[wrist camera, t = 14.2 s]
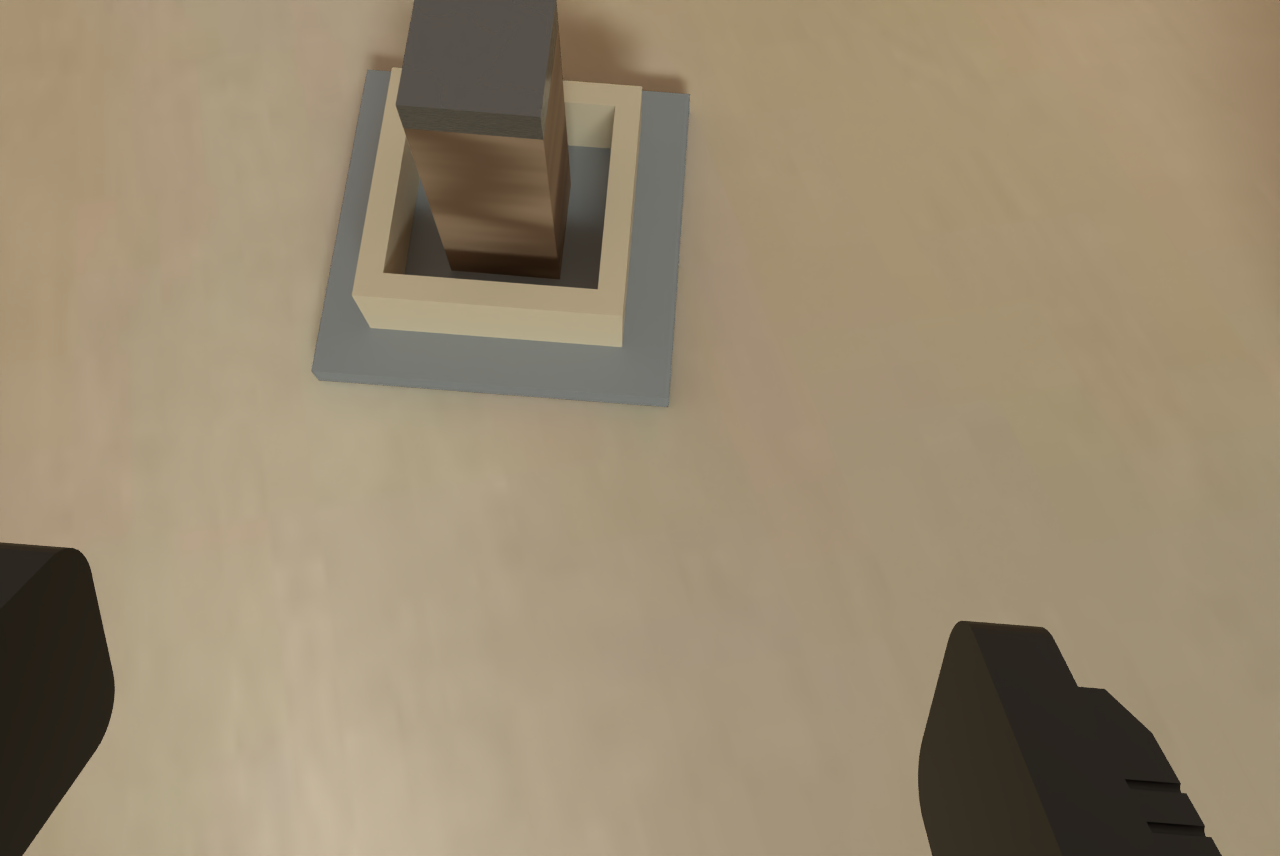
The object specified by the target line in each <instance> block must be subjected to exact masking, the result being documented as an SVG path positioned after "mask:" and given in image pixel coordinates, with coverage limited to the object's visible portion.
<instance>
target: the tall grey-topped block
mask: <svg viewBox="0 0 1280 856" xmlns="http://www.w3.org/2000/svg"><path fill="white" fill-rule="evenodd" d="M396 108H397V111H398V114H399V117H400V120H401V123H402V126H403V129H404V132H405V135H406V138H407V140H408V143H409V146H410V149H411V152H412V155H413V158H414V161H415V164H416V167H417V170H418V173H419V176H420V179H421V182H422V185H423V188H424V191H425V194H426V197H427V200H428V202H429V205H430V208H431V211H432V214H433V217H434V220H435V223H436V226H437V229H438V232H439V235H440V238H441V241H442V244H443V247H444V250H445V253H446V256H447V259H448V262H449V265H450V267H451V270H452V271H464V272H476V273H488V274H500V275H512V276H524V277H536V278H548V279H560V274H561V265H562V257H563V248H564V240H565V231H566V222H567V214H568V205H569V197H570V188H571V179H570V166H569V154H568V141H567V128H566V116H565V103H564V90H563V78H562V65H561V52H560V40H559V27H558V14H557V2H556V0H414V6H413V11H412V17H411V22H410V28H409V33H408V39H407V44H406V50H405V55H404V61H403V66H402V72H401V77H400V83H399V88H398V94H397V99H396Z"/></svg>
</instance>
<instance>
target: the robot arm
mask: <svg viewBox="0 0 1280 856" xmlns="http://www.w3.org/2000/svg"><path fill="white" fill-rule="evenodd" d="M114 692H115V686H114V676H113V671H112V666H111V661H110V657H109V652H108V647H107V643H106V638H105V634H104V629H103V624H102V620H101V615H100V610H99V606H98V601H97V596H96V592H95V587H94V582H93V578H92V573H91V569H90V566H89V563H88V561H87V559H86V558H85V556H84V555H83V554H82V553H81V552H80V551H79V550H76V549H74V548H64V547H51V546H39V545H26V544H13V543H1V542H0V856H22V855H23V854H24V852H25V851H26V850H27V848H28V847H29V845H30V844H31V842H32V841H33V840H34V838H35V837H36V835H37V834H38V832H39V831H40V830H41V828H42V827H43V825H44V824H45V822H46V821H47V820H48V818H49V817H50V815H51V814H52V812H53V811H54V810H55V808H56V807H57V805H58V804H59V802H60V801H61V799H62V798H63V797H64V795H65V794H66V792H67V791H68V789H69V788H70V787H71V785H72V784H73V782H74V781H75V779H76V778H77V777H78V775H79V774H80V772H81V771H82V769H83V768H84V767H85V765H86V764H87V762H88V761H89V759H90V758H91V757H92V755H93V754H94V752H95V751H96V749H97V748H98V746H99V744H100V743H101V741H102V739H103V737H104V735H105V732H106V730H107V727H108V724H109V721H110V718H111V713H112V709H113V703H114ZM1180 784H1181V783H1180V782H1179V780H1178V778H1177V776H1176V774H1175V773H1174V771H1173V769H1172V767H1171V766H1170V764H1169V762H1168V760H1167V759H1166V757H1165V755H1164V753H1163V752H1162V750H1161V748H1160V746H1159V745H1158V743H1157V741H1156V739H1155V738H1154V736H1153V734H1152V733H1151V732H1150V731H1149V730H1148V729H1147V728H1146V727H1145V726H1144V725H1143V724H1142V723H1141V722H1139V721H1138V720H1137V719H1136V718H1135V717H1134V716H1133V715H1132V714H1131V713H1130V712H1129V711H1128V710H1127V709H1126V708H1124V707H1123V706H1122V705H1121V704H1120V703H1119V702H1118V701H1117V700H1116V699H1115V698H1114V697H1113V696H1112V695H1110V694H1109V693H1108V692H1107V691H1106V690H1105V689H1098V688H1085V687H1078V686H1077V684H1076V682H1075V680H1074V678H1073V676H1072V674H1071V672H1070V670H1069V668H1068V666H1067V664H1066V662H1065V660H1064V658H1063V656H1062V654H1061V652H1060V650H1059V648H1058V646H1057V644H1056V642H1055V640H1054V639H1053V637H1052V635H1051V634H1050V633H1049V632H1048V631H1047V630H1046V629H1045V628H1043V627H1034V626H1021V625H1009V624H996V623H983V622H971V621H960V622H958V623H957V624H956V625H955V626H954V628H953V629H952V632H951V634H950V637H949V640H948V644H947V647H946V651H945V655H944V659H943V663H942V667H941V670H940V674H939V678H938V682H937V686H936V690H935V693H934V697H933V701H932V705H931V709H930V713H929V717H928V720H927V724H926V728H925V732H924V736H923V740H922V744H921V749H920V756H919V768H918V787H919V800H920V807H921V813H922V817H923V821H924V825H925V829H926V833H927V837H928V840H929V844H930V848H931V852H932V856H1222V855H1221V854H1220V852H1219V850H1218V848H1217V847H1216V845H1215V843H1214V841H1213V840H1212V838H1211V837H1206V836H1205V833H1204V827H1205V826H1204V824H1203V822H1202V820H1201V818H1200V817H1199V815H1198V813H1197V811H1196V810H1195V808H1194V806H1193V804H1192V803H1191V801H1190V799H1189V797H1188V796H1187V794H1185V793H1181V791H1180Z"/></svg>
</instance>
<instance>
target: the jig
mask: <svg viewBox="0 0 1280 856" xmlns="http://www.w3.org/2000/svg"><path fill="white" fill-rule="evenodd" d="M401 72H402V68H395V67H392V70H391V71H379V70H367V74H366V80H365V85H364V90H363V96H362V101H361V107H360V112H359V117H358V123H357V128H356V134H355V139H354V144H353V150H352V155H351V161H350V166H349V171H348V177H347V182H346V187H345V193H344V198H343V204H342V209H341V214H340V220H339V225H338V231H337V236H336V241H335V247H334V252H333V258H332V263H331V268H330V274H329V279H328V285H327V290H326V295H325V301H324V306H323V312H322V317H321V322H320V328H319V333H318V339H317V344H316V349H315V355H314V360H313V365H312V372H313V374H314V375H315V376H316V377H317V379H318V380H324V381H337V382H350V383H363V384H376V385H389V386H402V387H415V388H428V389H441V390H454V391H467V392H480V393H493V394H506V395H519V396H532V397H545V398H558V399H571V400H584V401H597V402H610V403H623V404H636V405H649V406H662V407H668V403H669V394H670V379H671V365H672V350H673V336H674V321H675V307H676V292H677V277H678V263H679V248H680V234H681V219H682V205H683V190H684V176H685V161H686V146H687V132H688V117H689V103H690V94H680V93H667V92H654V91H642V86H630V85H617V84H604V83H591V82H578V81H565V80H563V90H564V103H565V116H566V128H567V141H568V154H569V166H570V179H571V188H570V197H569V205H568V214H567V222H566V231H565V240H564V248H563V257H562V265H561V274H560V279H548V278H536V277H524V276H512V275H500V274H488V273H476V272H464V271H452V270H451V267H450V265H449V262H448V259H447V256H446V253H445V250H444V247H443V244H442V241H441V238H440V235H439V232H438V229H437V226H436V223H435V220H434V217H433V214H432V211H431V208H430V205H429V202H428V200H427V197H426V194H425V191H424V188H423V185H422V182H421V179H420V176H419V173H418V170H417V167H416V164H415V161H414V158H413V155H412V152H411V149H410V146H409V143H408V140H407V138H406V135H405V132H404V129H403V126H402V123H401V120H400V117H399V114H398V111H397V108H396V99H397V94H398V88H399V83H400V77H401Z"/></svg>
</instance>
